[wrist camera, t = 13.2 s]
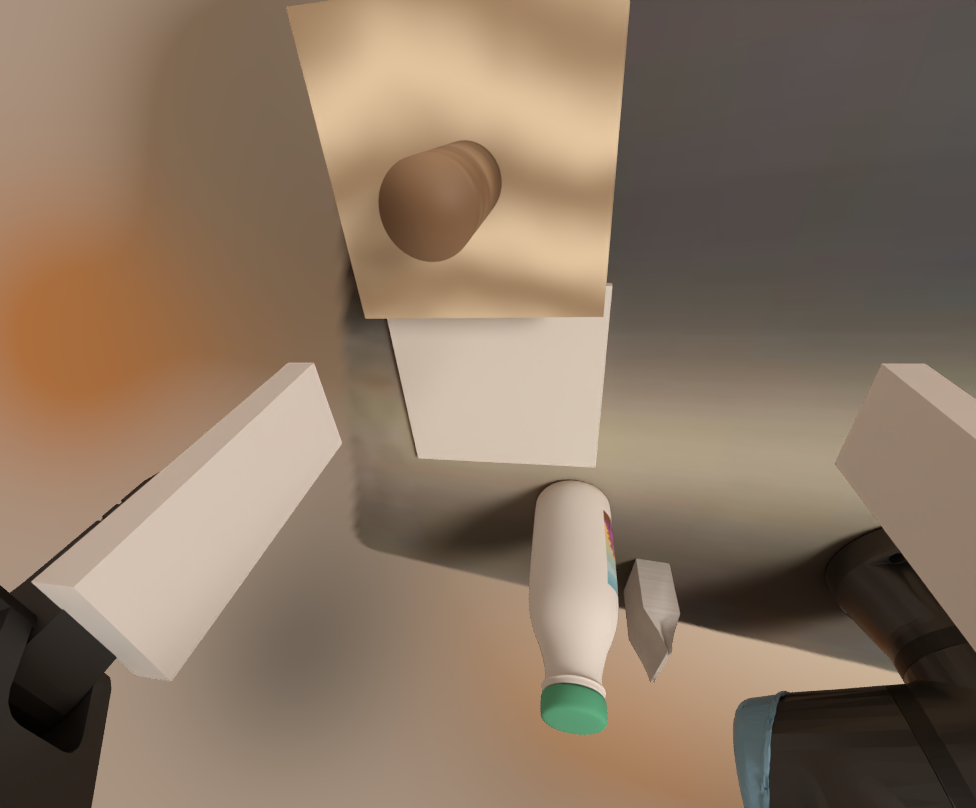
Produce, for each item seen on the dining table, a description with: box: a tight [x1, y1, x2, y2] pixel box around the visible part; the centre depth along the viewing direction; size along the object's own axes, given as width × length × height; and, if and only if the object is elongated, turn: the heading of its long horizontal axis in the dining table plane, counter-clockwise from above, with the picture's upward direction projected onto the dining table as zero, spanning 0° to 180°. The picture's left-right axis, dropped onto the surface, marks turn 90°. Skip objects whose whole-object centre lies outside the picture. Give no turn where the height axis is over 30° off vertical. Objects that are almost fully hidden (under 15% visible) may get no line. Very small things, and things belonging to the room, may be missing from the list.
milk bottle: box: [529, 480, 619, 735], centre depth 37 cm, size 8×8×20 cm
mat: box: [387, 283, 612, 467], centre depth 38 cm, size 18×18×1 cm
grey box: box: [624, 559, 680, 682], centre depth 47 cm, size 4×7×10 cm, turn 178°
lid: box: [286, 0, 630, 319], centre depth 21 cm, size 16×16×9 cm
